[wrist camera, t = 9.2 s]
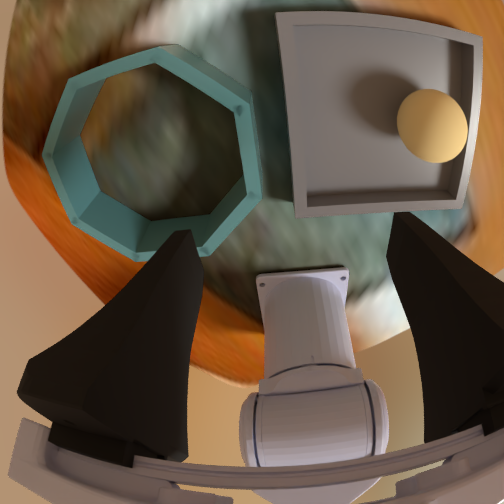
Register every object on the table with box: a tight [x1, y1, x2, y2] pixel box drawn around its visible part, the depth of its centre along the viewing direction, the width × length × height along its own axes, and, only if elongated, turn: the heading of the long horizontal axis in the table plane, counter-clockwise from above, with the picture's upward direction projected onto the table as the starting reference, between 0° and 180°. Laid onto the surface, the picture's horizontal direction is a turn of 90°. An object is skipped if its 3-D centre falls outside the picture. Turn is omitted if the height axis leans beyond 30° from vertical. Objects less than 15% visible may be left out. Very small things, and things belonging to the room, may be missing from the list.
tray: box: [274, 11, 483, 218], centre depth 16 cm, size 13×13×2 cm
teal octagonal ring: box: [42, 44, 262, 262], centre depth 17 cm, size 13×13×4 cm
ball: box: [397, 89, 468, 163], centre depth 14 cm, size 4×4×4 cm
